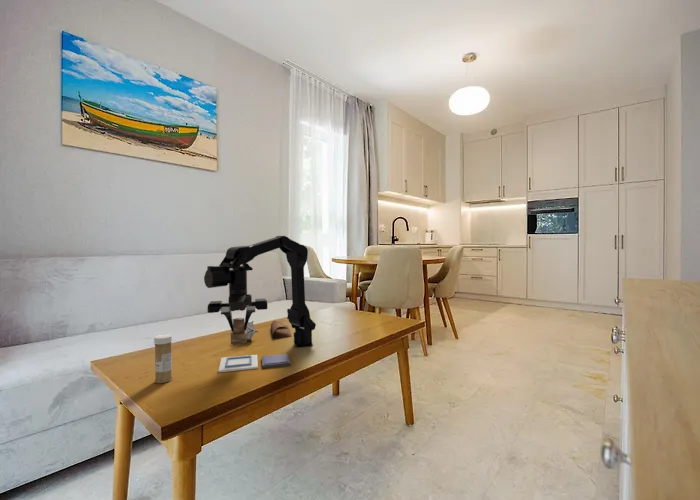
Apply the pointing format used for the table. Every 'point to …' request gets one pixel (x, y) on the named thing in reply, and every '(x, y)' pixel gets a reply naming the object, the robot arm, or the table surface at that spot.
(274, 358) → the ink pad
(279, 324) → the sunglasses case
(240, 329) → the stamp
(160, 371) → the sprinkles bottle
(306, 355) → the table surface
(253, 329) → the game die
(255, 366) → the print card
